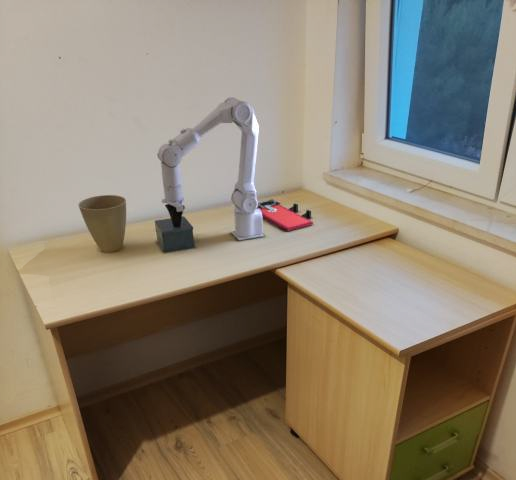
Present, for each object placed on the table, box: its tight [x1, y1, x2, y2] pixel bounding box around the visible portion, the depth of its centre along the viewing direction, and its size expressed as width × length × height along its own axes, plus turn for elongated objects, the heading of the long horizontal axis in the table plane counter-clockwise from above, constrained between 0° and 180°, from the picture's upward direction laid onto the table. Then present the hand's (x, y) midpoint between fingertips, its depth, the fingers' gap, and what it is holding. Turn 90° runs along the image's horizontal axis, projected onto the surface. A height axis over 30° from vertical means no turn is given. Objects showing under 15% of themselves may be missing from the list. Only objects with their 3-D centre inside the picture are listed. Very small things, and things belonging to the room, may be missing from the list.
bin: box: [154, 223, 195, 254], centre depth 171 cm, size 10×10×7 cm
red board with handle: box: [258, 198, 314, 232], centre depth 194 cm, size 30×3×15 cm
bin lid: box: [154, 215, 194, 234], centre depth 169 cm, size 11×10×1 cm
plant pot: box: [77, 194, 127, 253], centre depth 167 cm, size 15×15×16 cm
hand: (176, 226), depth 167 cm, fingers closed
